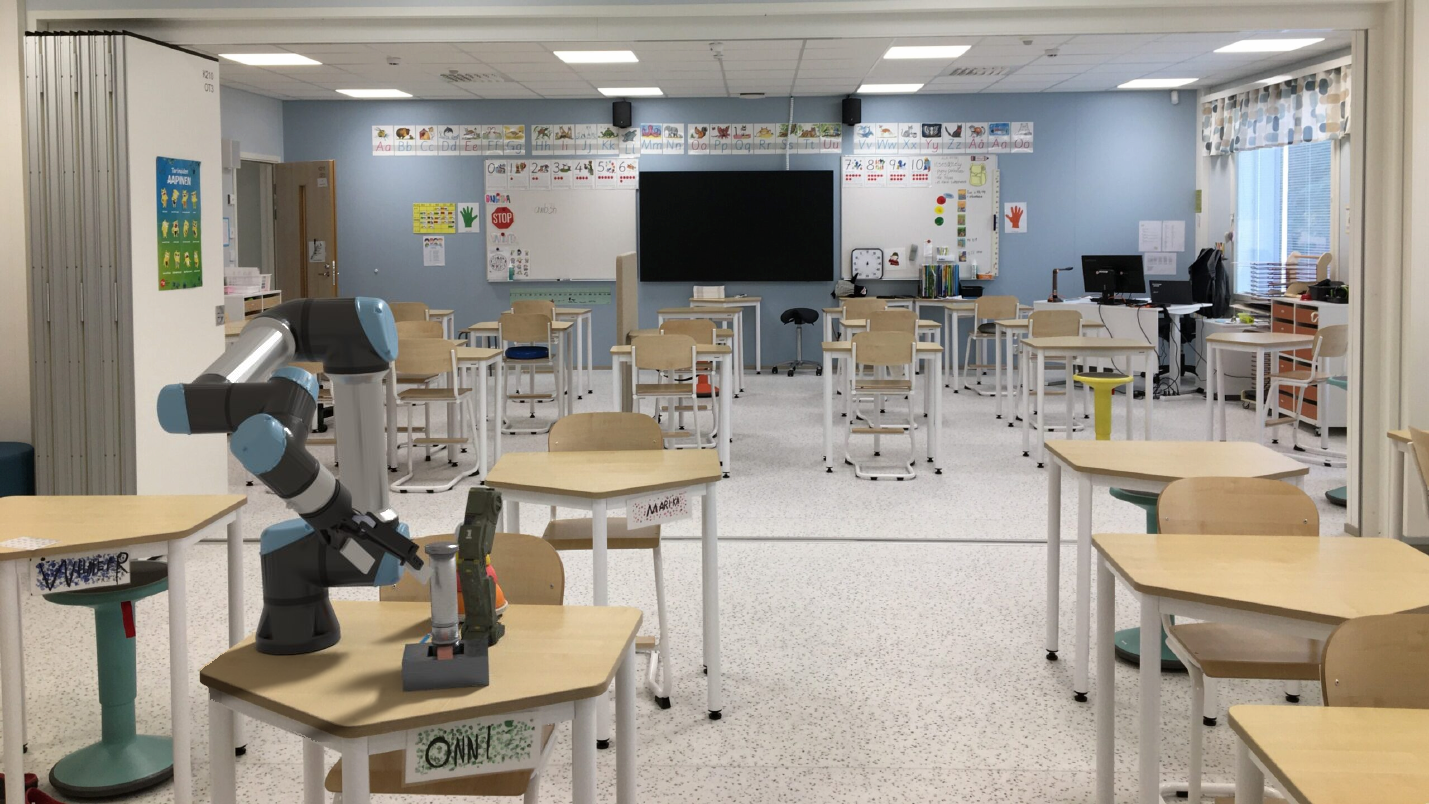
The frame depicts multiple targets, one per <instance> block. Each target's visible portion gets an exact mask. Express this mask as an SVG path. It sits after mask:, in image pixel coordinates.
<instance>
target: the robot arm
mask: <svg viewBox="0 0 1429 804" xmlns="http://www.w3.org/2000/svg"><path fill="white" fill-rule="evenodd" d="M395 321H396V320H395V317H394V315H393V312H392V310H391V307H390V306H389V305H388V303H387V302H386V301H385V300H384V299H382V298H379V297H367V296H347V297H345V296H344V297H342V296H341V297H319V298H318V297H317V298H315V297H314V298H312V297H311V298H310V297H303V298H301V297H300V298H295V299H291V300H287V301H284V302H282V303H279V304H276V305H274V306H272V307H269V308H267V309H265V310H264V311H262V312H260V313H258V314H256V315H255V316H254V317H253V318H252V319H250V320H249V321H248V322H247V323H245V325H244V326H243V327H242V328H241V330H240V332H239V336H238V339H237V340H236V341H235V342H234V343H232V344H231V346H230V347H228V348H227V349H226V350H225V351H224V352H223V353H222V354H221V355H220V356H219V357H217V358H216V359H215V361H214V362H212V363H211V364H210V365H208V367H206V369H205V370H203V371H202V372H201V373H200V375H198V376H197V377H196V378H195V379H194V380H193V381H191V382H190V383H186V382H179V383H171V384H167V385H165V386H164V385H163V387H162V388H161V389H160V390H159V393H158V396H157V400H156V414H157V415H156V416H157V421H158V423H159V425H160V427H161V428H162V430H163V431H164V432H166V433H169V434H173V435H175V434H177V435H178V434H179V435H182V434H183V435H188V436H192V435H206V434H207V435H208V434H210V435H211V434H213V435H214V434H215V435H217V434H232V435H231V436H230V440H229V449H230V452H231V454H232V455H233V456H234V457H235V458H236V459H237V460H238V461H239V462H240V463H241V465H242V466H243V468H244V469H245V470H246V471H248V472H249V473H250V474H252V475H253V476H254V477H256V478H257V479H258V480H259V481H261V482H262V483H263V484H264V486H266V487H267V488H268V489H270V491H272V492H273V493H274V495H276V496H278V498H279V499H280V500H281V501H283V502H284V503H285V508H286V509H287V510H293V511H294V512H295V513H296V514H297V515H298V516H299V517H297V518H293V519H292V518H291V519H287V520H283V521H281V522H277V523H274V524H271V525H269V526H268V527H266V528H264V529H263V531H262V532H261V534H260V541H259V542H260V551H259V556H260V568H261V569H260V571H261V583H262V584H261V585H262V587H261V588H262V599H263V601H262V602H263V604H262V605H263V606H262V610H261V613H260V618H259V621H258V625H257V627H256V631H255V636H254V637H255V648H256V650H257V651H259V652H261V653H265V654H271V655H296V654H303V653H310V652H315V651H319V650H322V649H326V648H329V647H331V646H333V645H335V644H336V643H338V642H340V640H341V638H342V637H341V635H342V634H341V633H342V632H341V624H340V622H339V619H338V617H337V614H336V612H335V609H334V608H333V605H332V602H331V600H330V593H329V592H330V590H329V589H330V588H355V587H356V588H361V587H363V588H365V587H368V588H369V587H373V588H378V587H385V586H394V585H397V584H398V583H399V582H400V581H401V580H402V578H403V575H404V574H405V570H406V571H407V572H409V574H411V576H412V577H414V578H415V579H416V580H417V581H418V582H419V584H421V585H423V586H426V585H427V583H428V581H430V576H431V575H432V573H433V571H434V570H433V569H432V568H431V567H430V566H429V563H427V562H426V561H425V560H424V559H423V558H422V557H421V556H419V554H417V553H418V551H419V549H420V545H418V544H417V543H416V542H414V541H413V540H411V538H410V536H411V535H410V526H409V525H408V523H405V522H403V521H402V522H401V521H400V518H399V512H398V510H396V509H395V507H393V506H392V505H391V504H390V493H389V476H388V474H389V473H388V461H387V444H386V428H385V427H386V426H385V425H386V424H385V414H384V413H385V411H384V395H383V378H384V377H385V376H386V375H387V374H388V373H389V372H390V368H391V367H390V363H392V362H394V361H396V360H397V358H398V356H399V347H398V346H399V337H398V336H399V335H398V329H397V324H396V322H395ZM292 363H295V364H296V363H322V368H323V369H322V370H323V371H322V372H323V374H324V376H325V377H327V378H328V380H330V381H331V383H332V388H333V402H334V417H335V419H334V420H335V430H336V447H337V460H338V473H339V474H338V475H339V480H338V479H337V478H336V477H335V476H334V474H333V473H332V472H331V471H330V470H329V469H328V468H327V467H325V466H324V464H322V462H321V461H320V460H319V459H317V458H316V457H315V456H314V455H313V454H312V453H310V452H309V451H308V449H307V448H306V444H307V442H308V437H309V434H310V431H311V426H312V423H313V420H314V416H315V413H316V411H317V408H318V399H319V398H318V397H319V393H320V386H319V385H320V384H319V383H318V380H317V379H316V377H315V376H314V375H313V374H312V373H310V371H308V370H306V369H304V368H301V367H298V366H290V365H289V366H287V365H288V364H292ZM269 375H270V377H268V376H269ZM267 378H268V379H267ZM266 379H267V381H265V380H266ZM264 381H265V382H264Z"/></svg>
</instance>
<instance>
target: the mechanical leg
mask: <svg viewBox="0 0 1429 804" xmlns="http://www.w3.org/2000/svg"><path fill="white" fill-rule="evenodd" d="M502 508H503V497H502V492H501V491H498V490H496V487H479V486H478V487H477V486H475V487H474V486H472V487H470V488H469V490H468V494H467V499H466V505H465V511H464V519H463V521H464V524H463V525H462V526H460V530H459V536H458V542H457V541H456V543H458V544H459V551H458V561H457V567H458V573H459V578H460V583H461V589H462V595H463V601H464V607H465V622H463V623H462V625H461V628H460V640H467V639H480V638H488V648H490V647H491V646H492V645H494V644H496V643H498V642H499V641H500V639H501V637H502V636H504V635H505V633H506V625H505V624H502V622H501V621H499V616H497V614H496V611H495V606H496V584H495V582H494V578H493V577H492V576H491V575H489V577H486V576H487V572H486V557H487V554H488V555H490V554H492V551H493V549H492V548H493V545H494V539H495V535H496V529H497V524H498V521H499V515H500V513H501V511H502ZM463 558H464V560H463ZM489 646H490V647H489Z"/></svg>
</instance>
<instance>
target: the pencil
mask: <svg viewBox="0 0 1429 804" xmlns="http://www.w3.org/2000/svg"><path fill="white" fill-rule="evenodd" d="M431 637H432V631H430V632H428V633H427V634H426V635H425V636H424V637H423V638H422V639H421V640H420V642H419V643H426V642H428V640H429V639H430V638H431Z"/></svg>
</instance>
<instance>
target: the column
mask: <svg viewBox="0 0 1429 804" xmlns="http://www.w3.org/2000/svg"><path fill="white" fill-rule="evenodd" d="M458 551H459V544H458V543H457V541H456V542H455V541H435V542H431V543H427V544H426V545H424V553H425V555H428V565H429V566H430V567H431V568H432V569H433V570H434V571H433V573H432V575H431V576H430V578H429V593H430V594H429V595H430V618H431V619H430V627H431V632H432V635H431V637H430V638H431V639H430V640H431V641H430V642H432V645H433V656H438V653H437V650H438V647H450V646H453V655H459V641H460V639H461V635H459V634H460V631H459V625H460V621H459V618H458V604H457V578H456V552H458Z"/></svg>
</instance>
